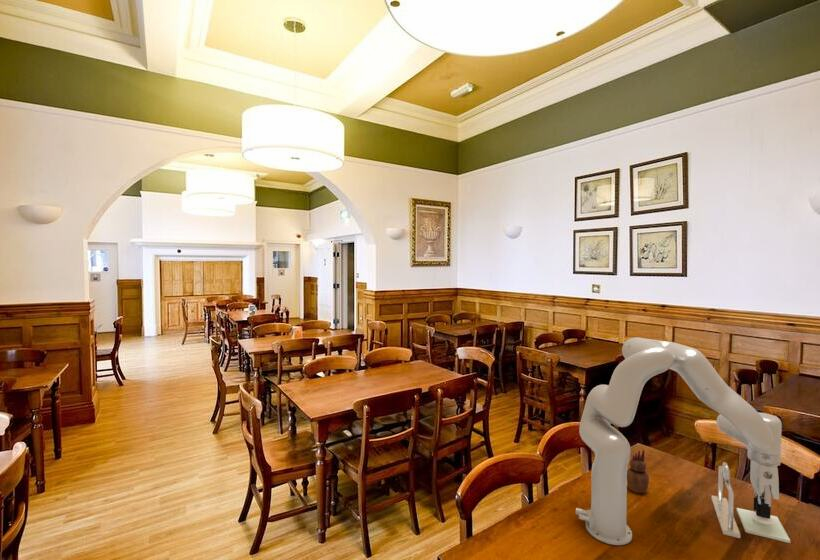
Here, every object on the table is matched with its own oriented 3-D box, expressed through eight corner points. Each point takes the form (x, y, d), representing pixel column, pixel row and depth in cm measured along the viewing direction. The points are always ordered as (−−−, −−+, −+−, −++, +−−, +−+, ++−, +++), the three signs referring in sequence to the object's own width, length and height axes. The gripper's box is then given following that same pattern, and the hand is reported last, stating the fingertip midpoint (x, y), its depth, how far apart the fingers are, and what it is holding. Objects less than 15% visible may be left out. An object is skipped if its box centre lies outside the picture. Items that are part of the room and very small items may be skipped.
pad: (745, 532, 121) (745, 529, 120) (736, 510, 131) (736, 507, 131) (790, 543, 116) (790, 540, 116) (777, 519, 126) (777, 516, 126)
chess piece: (776, 525, 120) (777, 492, 120) (757, 523, 121) (758, 490, 121) (765, 514, 125) (766, 483, 125) (747, 513, 126) (748, 481, 126)
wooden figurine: (648, 489, 143) (649, 448, 143) (648, 497, 138) (648, 455, 138) (627, 484, 147) (627, 443, 146) (626, 491, 142) (626, 450, 141)
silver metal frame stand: (723, 534, 120) (724, 479, 119) (711, 498, 137) (712, 450, 137) (740, 538, 118) (741, 482, 117) (726, 501, 136) (727, 452, 135)
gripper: (789, 470, 113) (786, 533, 114) (771, 446, 127) (769, 503, 128) (754, 464, 117) (752, 525, 118) (741, 441, 131) (739, 497, 132)
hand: (761, 513), depth 123 cm, fingers closed on chess piece
